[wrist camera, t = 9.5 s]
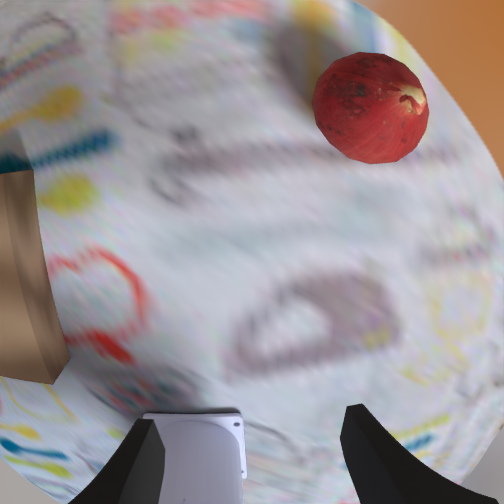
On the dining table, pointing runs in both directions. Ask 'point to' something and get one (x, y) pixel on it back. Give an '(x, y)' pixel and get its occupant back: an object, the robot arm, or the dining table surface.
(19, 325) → the walnut block
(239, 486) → the robot arm
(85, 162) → the dining table surface
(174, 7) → the dining table surface
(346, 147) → the pomegranate
